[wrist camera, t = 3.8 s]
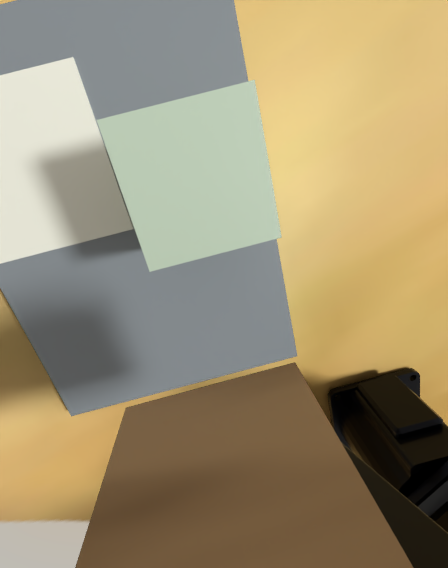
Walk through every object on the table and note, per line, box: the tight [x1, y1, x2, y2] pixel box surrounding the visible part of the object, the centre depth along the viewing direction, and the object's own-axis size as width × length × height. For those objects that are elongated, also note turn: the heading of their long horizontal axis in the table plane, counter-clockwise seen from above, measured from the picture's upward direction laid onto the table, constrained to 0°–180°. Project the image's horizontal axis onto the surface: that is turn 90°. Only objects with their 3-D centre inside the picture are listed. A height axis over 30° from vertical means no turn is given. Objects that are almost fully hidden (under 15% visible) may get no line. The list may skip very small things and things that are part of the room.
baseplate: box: [0, 0, 297, 416], centre depth 15 cm, size 20×15×1 cm
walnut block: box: [75, 363, 413, 568], centre depth 6 cm, size 5×5×5 cm
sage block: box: [97, 80, 281, 272], centre depth 12 cm, size 5×5×5 cm
